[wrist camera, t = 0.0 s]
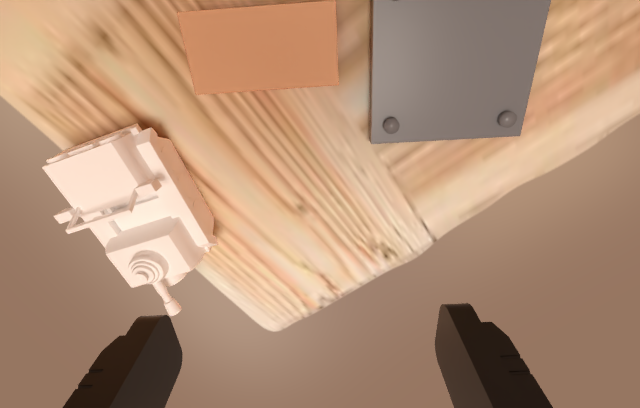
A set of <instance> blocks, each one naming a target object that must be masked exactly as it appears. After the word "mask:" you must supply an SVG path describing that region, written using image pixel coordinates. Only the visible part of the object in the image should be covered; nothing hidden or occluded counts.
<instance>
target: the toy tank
mask: <svg viewBox="0 0 640 408" xmlns="http://www.w3.org/2000/svg"><path fill="white" fill-rule="evenodd" d="M46 161H47V163H48V164H47V165H45V166H43V167H42V168H43V169H44V171H45V172H46V173H47V175H48V176H49V177H50V179H51V180H52V181H53V183H54V184H55V185H56V186H57V188H58V189H59V190H60V191H61V193H62V194H63V195H64V197H65V198H66V199H67V201H68V202H69V203H70V205H71V206H72V207H69V208H66V209H63V210H62V211H60V212H59V213H57V214H56V215H54V217H55V219H56V220H57V221H58V222H59V223H60V224H61V223H63V222H66V221H70V222H69V224H68V227H67V229H66V232H67V233H68V234H70V233H73V232H76V231H79V230H82V229H85V228H88V227H89V228H90V229H91V230H92V231H93V233H94V234H95V236H96V237H97V238H98V239H99V241H100V242H101V243H102V245H103V246H104V247H105V248H106V255H107V256H108V258H109V259H110V260H111V262H112V263H113V264H114V266H116V268H117V269H118V271H119V272H120V273H121V275H122V276H123V277H124V278H125V280H126V281H127V282H128V284H129V285H130V286H131V287H132V288H133V287H136V286H140V285H143V284H153V286H154V288H155V289H156V290H157V292H158V294H159V295H161V297H162V298H163V300H164V306H165V308H166V310H167V312H168V314H169V316H173V315H175V314H177V313H179V312H180V310H181V309H182V308H181V306H180V305H179V304H178V302H177V301H176V300H175V299H174V298H173V297H170V295H169V293H168V292H167V288H166V287H169V286H172V285H174V284H176V283H178V282H179V281H180V280H182V279H183V278H184V277H185V276H186V274H187V272H189V271H192V270H193V269H194V268H195V267H196V266H197V265H198V264H199V263H200V261H201V259H202V258H203V256H204V254H205V252H208V251H210V249H211V247H212V246H214V245H218V242H217V238H216V236H213V227H214V217H213V215H212V213H211V212H210V210H209V208H208V206H207V205H206V203H205V201H204V199H203V197H202V196H201V194H200V192H199V190H198V188H197V187H196V185H195V183H194V181H193V179H192V178H191V176H190V174H189V172H188V170H187V169H186V167H185V165H184V163H183V162H182V160H181V158H180V156H179V154H178V153H177V151H176V149H175V147H174V145H173V144H172V142H171V140H170V139H166V138H162V137H157V133H156V132H155V131H154V129H153V128H152V127H151V128H148V129H145V130H143V131H142V129H141V128H140V127H139V125H138V123H137V124H134V125H131V126H128V127H126V128H123V129H120V130H118V131H115V132H112V133H109V134H107V135H104V136H101V137H99V138H96V139H93V140H91V141H88V142H85V143H82V144H80V145H77V146H74V147H72V148H69V149H66V150H64V151H62V152H61V153H59V154H57V155H56V156H54V157H52V158H50V159H48V160H46ZM79 216H80V217H82V218H83V220H84V221H85V222H84V223H81V224H78V225H75V224H76V222H77V219H78V217H79Z"/></svg>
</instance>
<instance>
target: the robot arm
mask: <svg viewBox="0 0 640 408" xmlns="http://www.w3.org/2000/svg"><path fill="white" fill-rule="evenodd" d="M435 350H436V356H437V360H438V364H439V366H440V369H441V372H442V375H443V378H444V380H445V383H446V386H447V389H448V392H449V394H450V397H451V400H452V403H453V405H454V408H553V407H552V405H551V404H550V402H549V401H548V399H547V397H546V396H545V394H544V393H543V391H542V389H541V388H540V386H539V385H538V383H537V381H536V380H535V378H534V377H533V375H532V374H530V371H529V369H528V367H527V365H526V364H525V362H524V361H523V359H521V358H520V354H519V353H518V351H517V350H516V348H515V346H514V345H513V343H512V341H511V340H510V338H509V337H508V336H507V335H506V334H505V333H504V332H503V331H501V330H500V329H499V328H498V327H497V326H496V325H495V324H493V323H492V322H481V321H480V320H479V318H478V316H477V314H476V312H475V311H474V309H473V307H472V306H471V305H470V304H468V303H466V304H442V305H441V307H440V311H439V318H438V324H437V331H436V338H435ZM181 365H182V350H181V347H180V344H179V341H178V338H177V336H176V333H175V330H174V328H173V325H172V322H171V319H170V318H169V316H167V315H157V316H140V317H138V318H137V319H136V320H135V322H134V323H133V325H132V326H131V328H130V329H129V331H128V332H127V334H126V335H125V336H119V337H118V338H117V339H115V340H114V341H113V342H112V343H111V344H110V345H109V346H107V347H106V348H105V349H104V350H103V351H102V352H101V353H100V355H99V356H98V357H97V359H96V360H95V362H94V364H93V365H92V366H91V368H90V369H89V373H88V374H86V375H85V376H84V378H83V379H82V381H81V382H80V383H79V385H78V389H75V391H74V392H73V394H72V395H71V397H70V398H69V399H68V401H67V402H66V404H65V405H64V407H63V408H165V405H166V403H167V401H168V398H169V396H170V393H171V391H172V389H173V386H174V384H175V382H176V379H177V376H178V374H179V372H180V369H181Z"/></svg>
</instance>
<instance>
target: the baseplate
mask: <svg viewBox="0 0 640 408" xmlns="http://www.w3.org/2000/svg"><path fill="white" fill-rule="evenodd" d="M550 2H551V0H371V63H370V137H369V140H370V142H371V144H381V143H399V142H418V141H436V140H455V139H474V138H492V137H511V136H520V134H521V130H522V125H523V121H524V116H525V112H526V108H527V103H528V99H529V94H530V90H531V86H532V81H533V77H534V72H535V68H536V64H537V59H538V55H539V50H540V46H541V42H542V37H543V33H544V28H545V24H546V20H547V15H548V11H549V6H550Z"/></svg>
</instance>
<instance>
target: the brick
mask: <svg viewBox="0 0 640 408" xmlns="http://www.w3.org/2000/svg"><path fill="white" fill-rule="evenodd" d="M177 15H178V20H179V24H180V28H181V33H182V37H183V41H184V46H185V50H186V54H187V59H188V63H189V68H190V72H191V76H192V81H193V85H194V89H195V94H196V95H200V94H214V93H229V92H244V91H258V90H273V89H288V88H302V87H317V86H332V85H339V81H338V53H337V26H336V0H331V1H318V2H304V3H291V4H278V5H265V6H252V7H239V8H226V9H212V10H199V11H186V12H177Z"/></svg>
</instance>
